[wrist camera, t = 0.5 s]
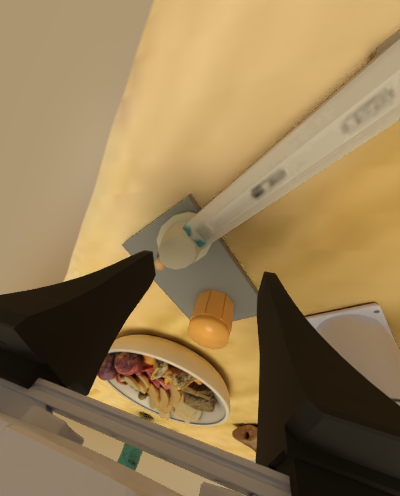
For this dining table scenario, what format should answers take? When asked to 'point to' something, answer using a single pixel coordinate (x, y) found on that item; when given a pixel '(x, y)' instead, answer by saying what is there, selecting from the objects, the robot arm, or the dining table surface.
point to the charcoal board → (197, 269)
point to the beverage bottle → (130, 456)
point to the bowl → (166, 380)
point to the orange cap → (211, 320)
